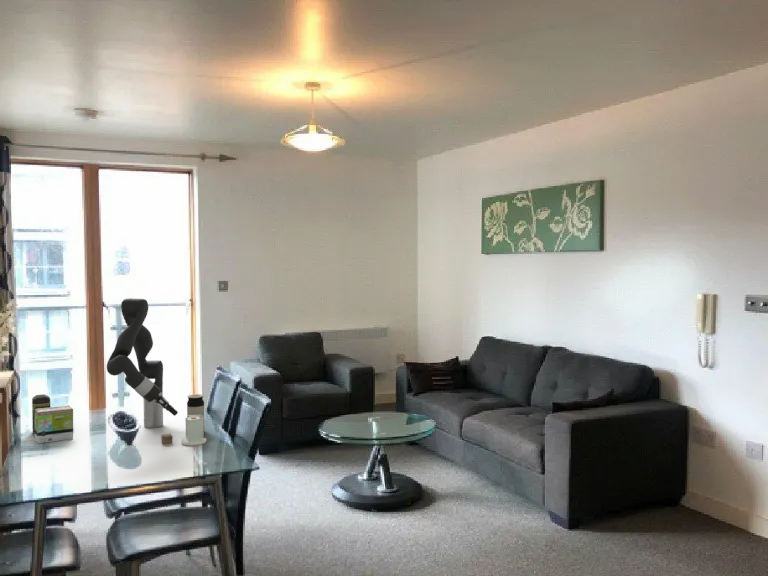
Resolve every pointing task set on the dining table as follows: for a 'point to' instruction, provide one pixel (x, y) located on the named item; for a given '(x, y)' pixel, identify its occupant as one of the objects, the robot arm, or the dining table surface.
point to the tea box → (53, 424)
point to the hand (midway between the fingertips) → (174, 412)
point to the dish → (185, 442)
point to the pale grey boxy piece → (193, 429)
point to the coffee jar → (39, 405)
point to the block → (166, 439)
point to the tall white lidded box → (201, 418)
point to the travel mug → (195, 406)
